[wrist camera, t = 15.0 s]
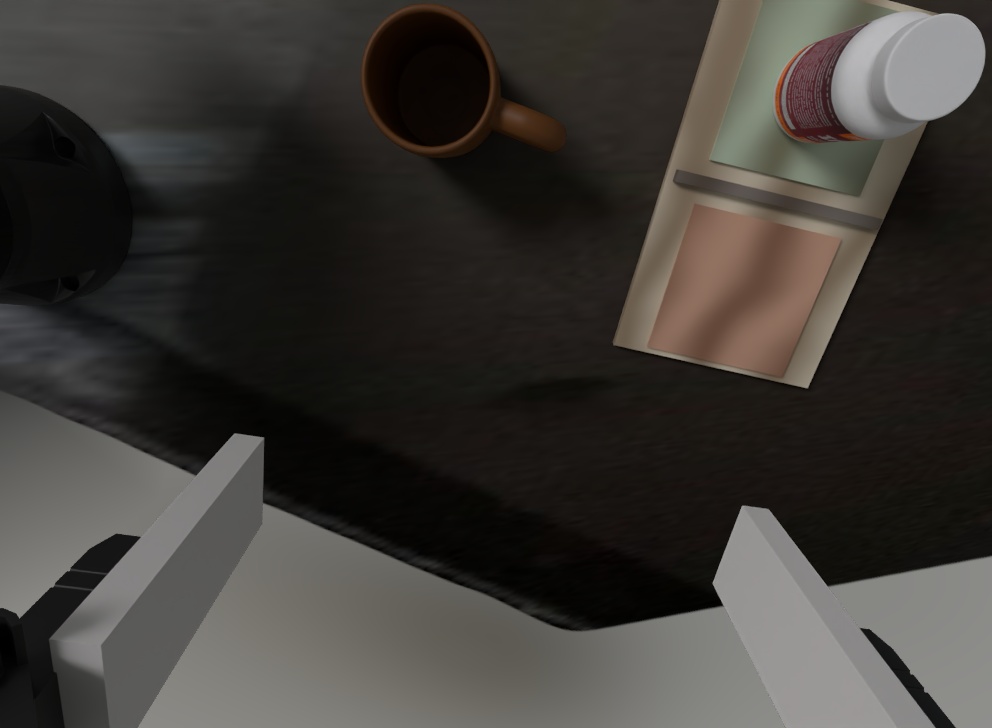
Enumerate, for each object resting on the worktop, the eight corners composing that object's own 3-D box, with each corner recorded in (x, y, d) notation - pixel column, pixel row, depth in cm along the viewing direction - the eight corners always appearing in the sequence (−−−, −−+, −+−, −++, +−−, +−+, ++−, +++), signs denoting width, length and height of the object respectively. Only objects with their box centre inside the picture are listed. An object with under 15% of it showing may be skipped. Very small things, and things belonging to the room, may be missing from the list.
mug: (578, 89, 39) (598, 68, 30) (535, 197, 41) (543, 208, 32) (411, 17, 37) (381, -27, 28) (377, 133, 40) (340, 126, 31)
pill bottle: (783, 159, 39) (882, 160, 29) (757, 69, 37) (853, 34, 27) (874, 117, 38) (1012, 102, 28) (852, 22, 36) (991, -33, 26)
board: (612, 342, 45) (615, 347, 43) (731, -38, 36) (738, -45, 35) (803, 385, 46) (812, 391, 44) (965, 24, 37) (980, 20, 36)
